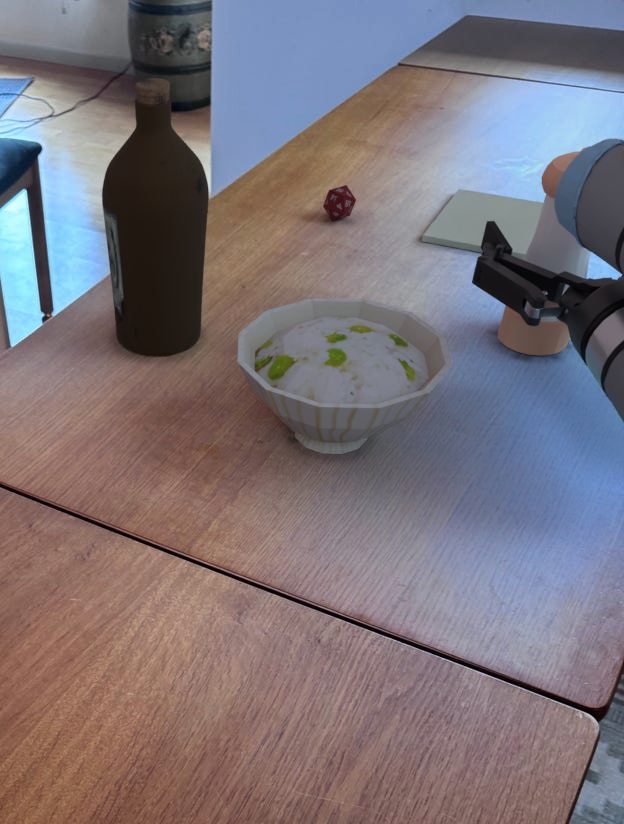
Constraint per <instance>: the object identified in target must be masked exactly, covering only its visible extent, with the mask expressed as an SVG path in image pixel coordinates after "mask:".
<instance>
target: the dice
mask: <svg viewBox="0 0 624 824" xmlns="http://www.w3.org/2000/svg"><path fill="white" fill-rule="evenodd" d="M356 202H357V198H356V197H355V196H354V195H353V193H352V191H351V189H350V188H349V186H348V185H347V184H345V185H341V186H338V187H335V188H332V189H329V190H328V192H327V195H326V197H325V199H324V202H323V205H322V207H323V209H324V210H325V212H326V213H327V215H328V216H329V218H330V220H331V221H332V222H334V221H337V220H341V219H344V218H348V217H350V216H351V214H352V211H353V209H354V207H355V204H356Z"/></svg>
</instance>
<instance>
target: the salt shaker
mask: <svg viewBox="0 0 624 824" xmlns="http://www.w3.org/2000/svg"><path fill="white" fill-rule="evenodd" d="M587 147H588V146H586V147H583V148H582V149H581V150H579V151H578V150H577V151H572V152H567V153H564V154H561V155H558V156H556V157H555V158H553V159H552V160H551V162H549V163H548V164H547V165H546V167H545V169H544V171H543V173H542V175H541V187H542V191H543V192H544V194H545V197H544V201H543V202H542V203H543V207H542V210H541V214H540V217H539V221H538V224H537V227H536V231H535V234H534V237H533V239H532V241H531V244H530V246H529V248H528V250H527V253H526V255H525V257H524V259H523V260H524V261H527V262H529V263H532V264H534V265H537V266H539V267H542V268H544V269H547V270H549V271H552V272H554V273H557V274H559V273H561V272H564V271H567V272H569V273H572V274H574V275H577V276H579V277H582V278H584V279H587V276H588V269H589V264H590V257H591V252H590V251H588V250H587V249H586V248H583V247H581V246H580V245H579V243H578V242H577V240H576V238H575V237H574V236H573V235H572V234H571V233H570V232H568V231H567V230H566V229H565V228H564V227H563V226H562V225H561V224H560V223H559V222H558V218H557V215H556V212H555V207H554V201H555V193H556V189H557V186H558V183H559V181H560V179H561V176H562V175H563V173H564V171H565V170H566V168H567V167H568V165H569V164H570V163H571V162H572V160H573V159H574V158H575V157H576V156H577V155H578V154H579V153H581V152H582V151H583V150H584V149H586V148H587ZM568 287H569V285H566V284H565V287H564V290H563V293H562V295H563V294H564V292H565V291H566V290H567V288H568ZM497 336H498V340H499V341H500V343H501V344H503V345H504V346H505V347H506V348H508V349H510V350H512V351H515V352H517V353H520V354H525V355H530V356H550V355H555V354H559V353H561V352H563V351H564V350H565V349H566V348H567V347H568V345H569V342H570V340H571V339H570V335H569V330H568V326H567V325H566V324H565V323H563V322H561V321H559V320H558V319H557V318H556V316H554V317H541V320H540V323H539V325H538V326H530V325H527V324H526V323H525V321H524V320H523V318H522V317H521V316H520V314H518V313H517V312H515V311H514V310H512V309H511V308H509V307H508V306H506V305H504V310H503V313H502V317H501V320H500V324H499V328H498V331H497Z"/></svg>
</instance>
